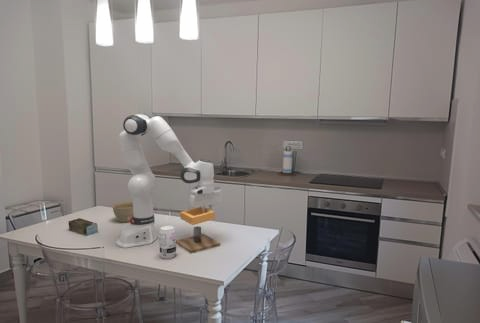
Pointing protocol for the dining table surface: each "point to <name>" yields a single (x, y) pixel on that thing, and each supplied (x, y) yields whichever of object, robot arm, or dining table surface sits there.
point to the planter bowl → (123, 211)
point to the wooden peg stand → (197, 242)
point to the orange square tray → (197, 215)
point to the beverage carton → (83, 226)
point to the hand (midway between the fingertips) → (206, 212)
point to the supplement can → (167, 242)
